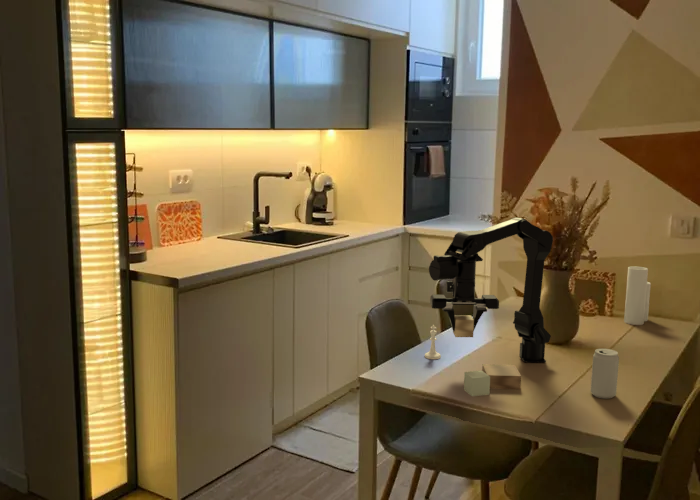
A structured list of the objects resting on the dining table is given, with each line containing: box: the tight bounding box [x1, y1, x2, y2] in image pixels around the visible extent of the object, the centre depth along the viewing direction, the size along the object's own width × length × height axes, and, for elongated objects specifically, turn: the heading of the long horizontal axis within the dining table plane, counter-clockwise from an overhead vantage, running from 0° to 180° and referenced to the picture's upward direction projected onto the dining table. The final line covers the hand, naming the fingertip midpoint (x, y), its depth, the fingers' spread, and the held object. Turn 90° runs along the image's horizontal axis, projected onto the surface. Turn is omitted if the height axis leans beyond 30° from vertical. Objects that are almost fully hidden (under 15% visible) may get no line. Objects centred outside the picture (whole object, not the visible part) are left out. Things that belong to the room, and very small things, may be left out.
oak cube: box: [452, 314, 475, 338], centre depth 204 cm, size 5×5×5 cm
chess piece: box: [424, 324, 442, 360], centre depth 218 cm, size 5×5×10 cm
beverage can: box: [590, 348, 620, 400], centre depth 188 cm, size 6×6×12 cm
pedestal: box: [481, 363, 522, 390], centre depth 197 cm, size 9×9×4 cm
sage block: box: [463, 369, 491, 397], centre depth 190 cm, size 5×5×5 cm
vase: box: [623, 265, 652, 326], centre depth 259 cm, size 11×7×20 cm, turn 144°
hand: (463, 331), depth 204 cm, fingers closed on oak cube, 5 cm apart
